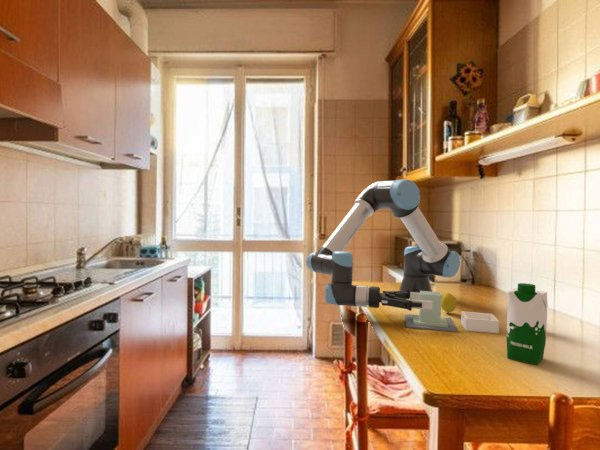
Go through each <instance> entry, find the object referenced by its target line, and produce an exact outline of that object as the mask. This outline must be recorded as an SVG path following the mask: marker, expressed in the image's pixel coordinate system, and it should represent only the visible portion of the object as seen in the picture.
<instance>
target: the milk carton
mask: <svg viewBox="0 0 600 450" xmlns="http://www.w3.org/2000/svg"><path fill="white" fill-rule="evenodd" d="M507 300H508V301H507V316H506V317H507V318H506V321H507V322H506V355H507V356H506V357H507V359H510V360H512V361H513V360H514V361H517V362H518V361H519V362H522V363H526V364H530V365H535V366H538V365H539V363H540V362H541V361H542V359H544V355H545V354H544V353H545V349H546V342H547V325H548V323H547V322H548V291H542V290H536V285H535V284H532V283H525V282H523V283H522V282H521V283H518V284H517V287H516V288H512V289H510V290H508V296H507Z"/></svg>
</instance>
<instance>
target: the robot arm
mask: <svg viewBox="0 0 600 450" xmlns="http://www.w3.org/2000/svg"><path fill="white" fill-rule="evenodd" d="M420 191H421V190H420V188H419V187H418V185H417V184H416V183H415V182H413V180H411V179H401V178H398V179H394V180H392V179H389V180H378V181H376V182H373V183H372V184H370V185H369V186H367V187H366V188H365V189H364V190H363V191H362V192H361V193H359V195H358V196H357V198H356V199H355V200H354V202H353V206H352V207H351V208H350V210H349V211H348V213H347V214H346V215H345V216H344V217H343V219H342V220H341V221H340V223H339V224H337V226H336V228H335V229H334V231H333V232H332V233H331V234H330V235H329V237H328V238H327V239H326V241H324V243H323V244H322V246H321V247H320V248H319V249H318V251H317V252H311V253H309V255H308V256H307V257H306V260H305V261H306V262H305V265H306V267H307V268H308V270H309V271H311V272H312V273H313V272H314V273H317V274H323V275H328V276H331V279H330V280H331V282H330V283H327V284H326V286H325V288H324V289H325V291H324V300H325V302H326V304H329V305H333V306H334V305H335V306H345V305H346V306H345V307H347V306H348V307H358V308H359V309H362V308H367V307H369V308H370V309H371V308H372V309H373V308H374V309H379V308H380V303H381V305H382V306H384V307H385V306H387V307H388V306H389V307H392V308H398V309H404V310H407V311H411V312H412V310H413V309H416V310H419V309H428V310H432V306H433V301H423V300H420V291H431V292H433V289H432V286H431V282H430V276H431V275H432V276H437V277H441V278H453V277H455V276H456V274H458V272H459V270H460V267H461V256H460V254H459V253H458V252H457V251H454V250H450V249H449V247H448V246H447V244H446V243H444V242H441V241H440V239H439V238H438V236H437V235H436V233H435V231H434V230H433V229H432V227H431V225H430V224H429V221H428V220H427V219H426V216H424V213H423V212H422V210H421V209H420V208H419V206H420V202H421V194H420V193H421V192H420ZM382 209H383V210H389V211H390V212H391V214H392V215H393V216H394V218H397V219H400V220H401V222H402V224H403V225H404V227H405V228H406V229H407V231H408V232H409V234H410V236H411V237H412V238H413V240H414V241H415V243H416V244H417V246H416V245H415V246H406V247H405V248H404V252H403V278H402V280H401V283H400V286H399V289H398V290H390V291H389V290H382V292H381V287H380V286H370V285H369V286H367V285H360V284H359V285H357V284H353V269H354V268H353V267H354V260H353V259H354V258H353V253H352V252H350V251H343V250H344V249H345V248H346V247H347V246H348V244H349V243H350V242H351V240H352V239H353V237H355V235H356V233H357V232H358V231H359V230H360V228H362V226H363V224H364V223H365V222H366V220H367V219H368V218H369V217H372V216H373V215H374V214H375V213H376V212H377V211H379V210H382Z"/></svg>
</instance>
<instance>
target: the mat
mask: <svg viewBox="0 0 600 450" xmlns="http://www.w3.org/2000/svg"><path fill="white" fill-rule="evenodd" d="M404 316H405V317H404V318H405V328H408V329H416V330H417V329H418V330H419V329H420V330H428V331H429V330H430V331H439V332H440V331H441V332H448V333H449V332H452V333H458V329H457V327H456V325H455V324H454V322H453V319H452V317H445V319H446V322H447V324H448V328H447V327H436V326H424V325H414V324H413V318H412V314H406V313H405V314H404Z"/></svg>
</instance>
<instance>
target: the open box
mask: <svg viewBox="0 0 600 450" xmlns="http://www.w3.org/2000/svg"><path fill="white" fill-rule="evenodd" d="M460 324H461V326H462V327H463V328H464V331H466V332H467V331H469V332H477V333H478V332H479V333H490V334H500V321H499V320H498V318H497V317H496V316H495V315H494V314H493V313H487V312H486V313H485V312H476V311H475V312H473V311H464V310H463V311H460Z"/></svg>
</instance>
